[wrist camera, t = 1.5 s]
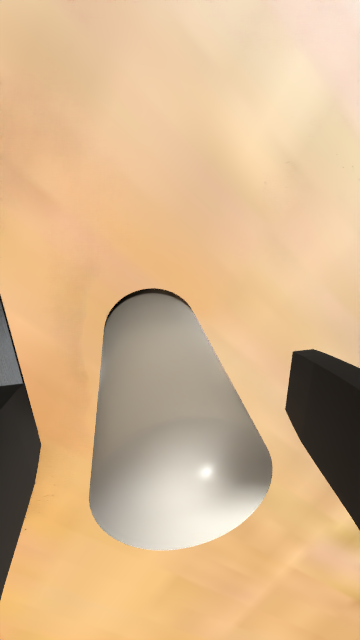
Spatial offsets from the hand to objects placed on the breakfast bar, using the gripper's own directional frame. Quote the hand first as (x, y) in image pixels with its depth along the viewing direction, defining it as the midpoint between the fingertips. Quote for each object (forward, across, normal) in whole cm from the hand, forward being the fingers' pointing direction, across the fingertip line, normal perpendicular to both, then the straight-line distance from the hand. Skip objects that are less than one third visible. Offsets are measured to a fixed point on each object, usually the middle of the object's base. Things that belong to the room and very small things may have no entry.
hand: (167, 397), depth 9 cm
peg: (+4, 0, 0) cm, 4 cm away
